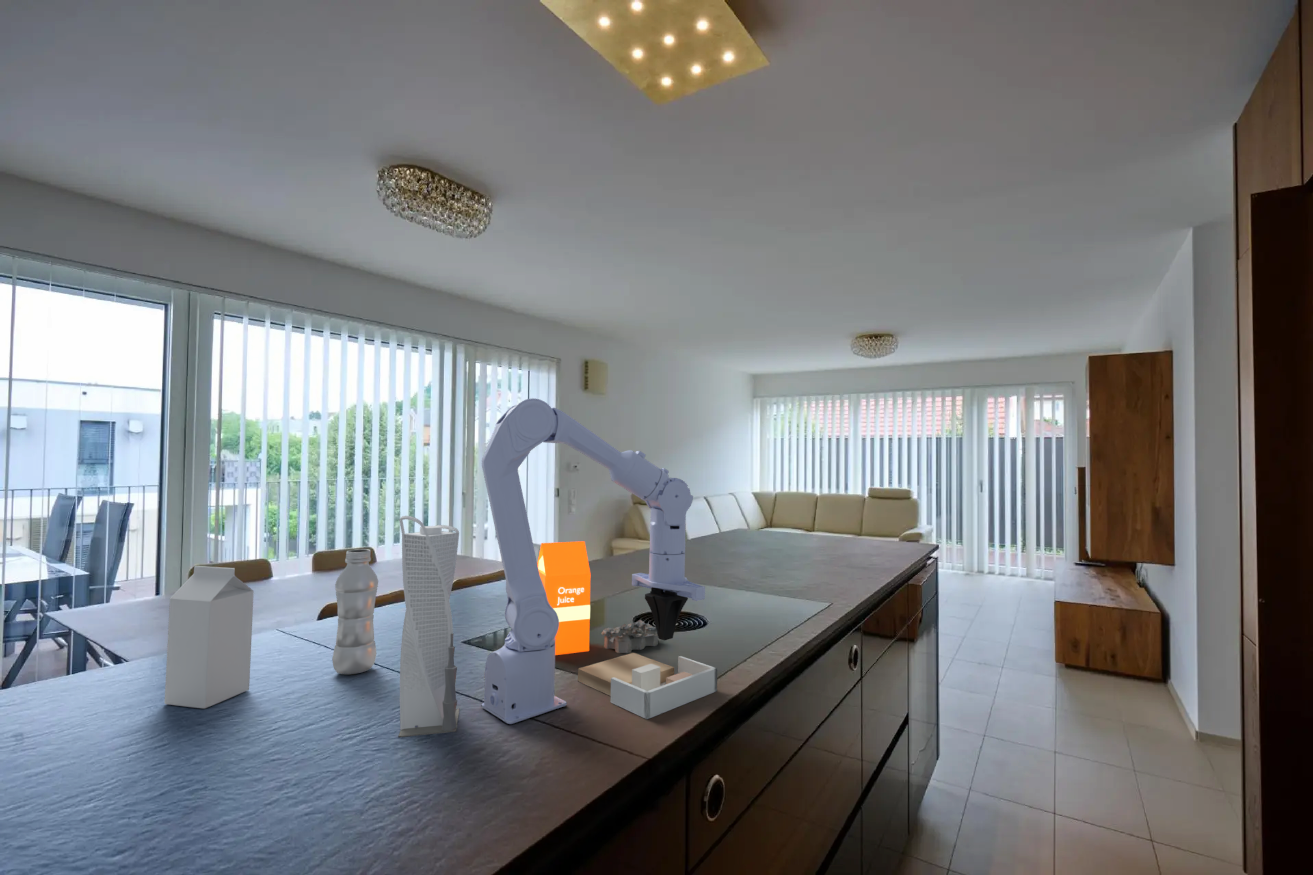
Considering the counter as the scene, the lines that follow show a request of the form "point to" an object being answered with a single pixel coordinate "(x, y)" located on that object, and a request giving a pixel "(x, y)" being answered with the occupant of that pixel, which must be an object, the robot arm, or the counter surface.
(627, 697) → the tray
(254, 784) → the counter surface
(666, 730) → the counter surface
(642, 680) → the cream tile
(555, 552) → the orange juice
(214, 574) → the milk carton
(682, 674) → the terracotta tile
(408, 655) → the skyscraper
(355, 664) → the plastic bottle
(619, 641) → the egg carton
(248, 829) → the counter surface
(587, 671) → the flat wooden plank
